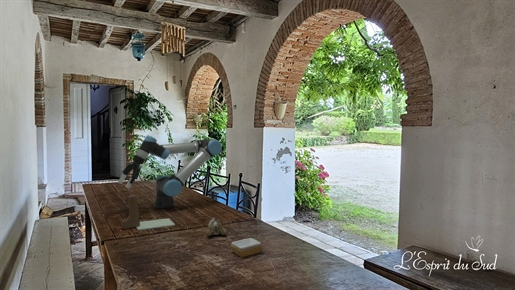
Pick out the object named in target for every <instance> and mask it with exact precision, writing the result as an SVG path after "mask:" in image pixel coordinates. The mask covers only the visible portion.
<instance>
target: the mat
mask: <svg viewBox="0 0 515 290" xmlns="http://www.w3.org/2000/svg"><path fill="white" fill-rule="evenodd" d="M175 226H176V224H175V223H174V222H173V221H172V220H171V218H161V219H151V220H145V221H144V220H143V221H140V226H137V227H135V228H136V230H137V229H138V230H137V231H144V230H151V229H160V228H167V227H175Z"/></svg>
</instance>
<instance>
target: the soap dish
mask: <svg viewBox="0 0 515 290" xmlns="http://www.w3.org/2000/svg"><path fill="white" fill-rule="evenodd" d="M229 247H230V249H231V251H232V253H234V254H236V255H237V256H238V257H240V258H245V257H247V256H252V255H256V254H260V253H261V251H262V249H263V247H264V245H262V243H261V242H260V241H259V240H256V239H254V238H251V237H249V238H244V239H240V240H235V241H232V242H231V244H229Z"/></svg>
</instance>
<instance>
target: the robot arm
mask: <svg viewBox="0 0 515 290" xmlns="http://www.w3.org/2000/svg"><path fill="white" fill-rule="evenodd" d="M157 141H158V139H156V138H155V137H153V135H146V137H145V138H144V139H143V141H142V142H141V144H140V146H139V148H137V150H136V152H135V155H134V156H133V157H132V160H133V161H132V160H130V162H129V163H128V165H126V167H125V168H124V169H123V170H122V175H121V176H120V178H119V179H118V180H117V183H118V184H121V185H122V184H123V182H124V181H125V179H126V177H127V176H128V175H129V174H130V172H132V174H131V176H130V178H129V180H128V182H127V184H125V188H127V189H129V190H130V188H131V187H132V185H133V183H134V182H135V180H138V179H139V175H140V173H141V169H142V167H143V164H145V161H146V159H147V158H148V157H149V155H151V156H153V157H158V158H160V159H161V160H163V161H164V160H167V159H168V158H169V156H170V155H175V154H176V155H177V154H186V153H187V154H188V153H195V155H194V156H193V157H192V158H191V159H190V160H188V162H187V163H186V164H184V166H182V167H181V168H180V169H179V170H178V171H177V172H176V173H172V174H170V175H169V174H167V175H157V176H156V177H155V178H156V179H155V186H156V187H155V198H154V203H153V208H155V209H171V208H174V207H175V206H176V203H175V199H174V197H176V196H177V195H179V194H180V193H181V192H182V188H184V186H185V182H186V181H187V180H188V179H190V177H191V176H192V175H194V173H195V172H196V171H197V170H199V168H200V167H202V165H204V164H205V163H206V162H207V160H212V159H213V158H214V157H215V156H218V155H220V154H221V153H222V150H223V149H222V148H223V147H222V146H223V145H222V143H221V142H220V141H219V140H218V139H214V138H213V139H212V138H205V139H200V140H194V141H193V142H182V143H181V142H180V143H169V144H159V143H157Z"/></svg>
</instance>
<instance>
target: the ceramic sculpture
mask: <svg viewBox="0 0 515 290" xmlns="http://www.w3.org/2000/svg"><path fill="white" fill-rule="evenodd" d="M207 224H208V225H207V227H208V228H207V229H206V232H205V233H206V235H207V236H208V237H211V236H219V235H222V236H224V235H225V236H226V235H227V229H226V228H225V227H223V225H222V223H221V222H220V221H219V219H217V218H215V217H213V218H212V219H210V221H209V223H207Z"/></svg>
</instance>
